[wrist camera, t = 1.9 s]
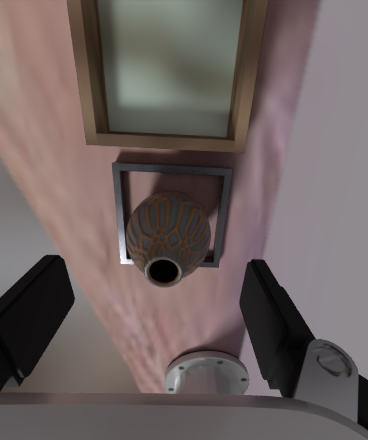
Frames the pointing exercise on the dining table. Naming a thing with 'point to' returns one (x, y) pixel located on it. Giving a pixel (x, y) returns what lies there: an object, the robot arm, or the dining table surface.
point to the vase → (168, 237)
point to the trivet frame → (170, 168)
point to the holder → (167, 71)
